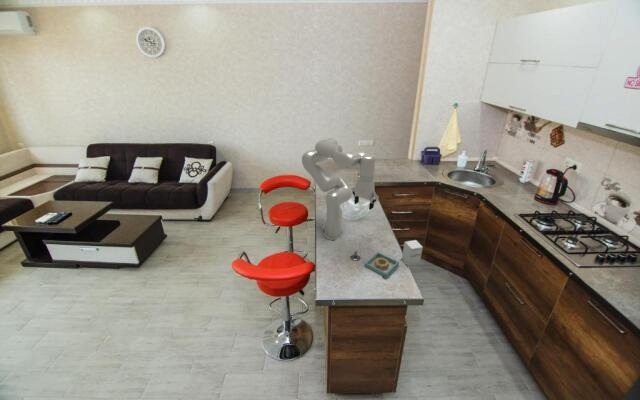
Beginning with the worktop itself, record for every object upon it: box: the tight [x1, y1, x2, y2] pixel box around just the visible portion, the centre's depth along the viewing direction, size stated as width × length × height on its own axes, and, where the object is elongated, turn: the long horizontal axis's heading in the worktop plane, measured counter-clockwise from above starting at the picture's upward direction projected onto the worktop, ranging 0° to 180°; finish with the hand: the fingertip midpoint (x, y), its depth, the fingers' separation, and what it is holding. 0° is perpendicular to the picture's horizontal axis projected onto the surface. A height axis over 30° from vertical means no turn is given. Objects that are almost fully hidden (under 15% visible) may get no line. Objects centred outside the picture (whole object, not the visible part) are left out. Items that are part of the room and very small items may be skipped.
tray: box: [364, 251, 400, 280], centre depth 169 cm, size 14×14×3 cm
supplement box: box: [401, 239, 424, 268], centre depth 171 cm, size 7×7×13 cm
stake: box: [349, 251, 362, 262], centre depth 175 cm, size 6×6×5 cm
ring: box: [374, 257, 390, 271], centre depth 169 cm, size 7×7×3 cm
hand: (363, 205), depth 170 cm, fingers open, 9 cm apart
